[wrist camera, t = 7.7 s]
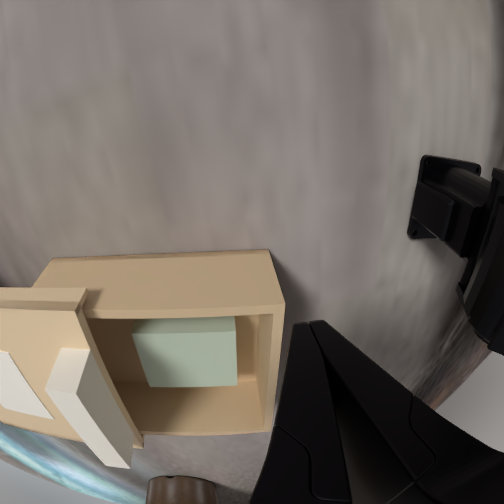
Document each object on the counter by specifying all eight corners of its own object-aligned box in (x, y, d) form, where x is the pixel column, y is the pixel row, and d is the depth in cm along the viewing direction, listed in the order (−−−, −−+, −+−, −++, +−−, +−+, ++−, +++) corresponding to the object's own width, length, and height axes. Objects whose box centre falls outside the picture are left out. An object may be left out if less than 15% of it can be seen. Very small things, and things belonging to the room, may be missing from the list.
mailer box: (268, 249, 22) (285, 303, 16) (261, 378, 28) (270, 431, 23) (52, 258, 20) (17, 307, 15) (101, 379, 27) (89, 428, 22)
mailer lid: (86, 287, 16) (54, 356, 11) (145, 428, 23) (140, 480, 19) (-68, 285, 14) (-101, 326, 10) (8, 408, 22) (-6, 447, 17)
